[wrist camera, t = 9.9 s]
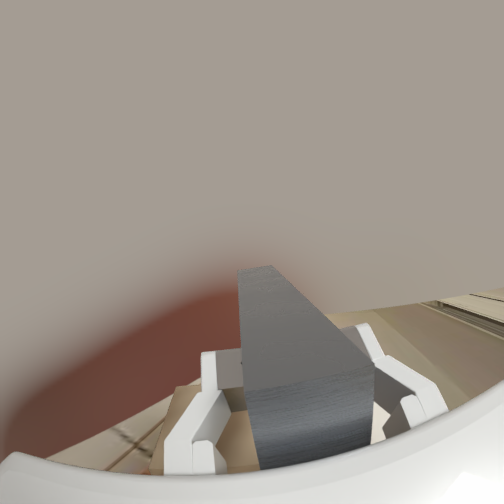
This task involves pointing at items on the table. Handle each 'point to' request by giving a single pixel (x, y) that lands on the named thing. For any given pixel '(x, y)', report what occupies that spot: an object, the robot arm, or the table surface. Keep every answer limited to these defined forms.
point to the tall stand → (229, 443)
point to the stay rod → (299, 375)
